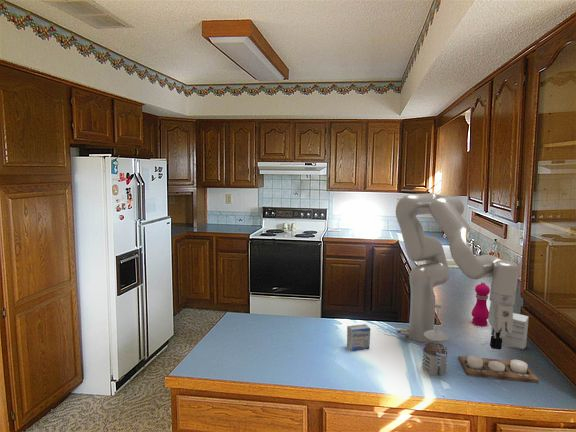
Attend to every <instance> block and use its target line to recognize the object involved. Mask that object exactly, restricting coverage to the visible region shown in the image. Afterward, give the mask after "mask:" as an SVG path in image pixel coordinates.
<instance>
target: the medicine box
mask: <svg viewBox="0 0 576 432" xmlns="http://www.w3.org/2000/svg"><path fill="white" fill-rule="evenodd" d="M346 330H347V331H346V347H347V348H348V349H349V350H350V351H351V352H358V351H365V350H370V346H371V328H370V327H369V326H368V325H367V324H364V323H363V324H355V325H354V324H353V325H347V327H346ZM364 349H365V350H364ZM357 350H358V351H357Z"/></svg>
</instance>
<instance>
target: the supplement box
mask: <svg viewBox="0 0 576 432" xmlns="http://www.w3.org/2000/svg"><path fill="white" fill-rule="evenodd" d="M528 327H529V316H528V315H524V314H519V313H515V312H513V323H512V333H511V334H508V333H507V331H506V330H505V338H503V340H502V348H503V347H504V348H505V347H506V348H517V349H520V350H521V349H522V350H524V349H526V346H527V339H528V338H527V337H528Z"/></svg>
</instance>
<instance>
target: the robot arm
mask: <svg viewBox="0 0 576 432" xmlns="http://www.w3.org/2000/svg"><path fill="white" fill-rule="evenodd" d="M464 210H465V205H464V203H463V201H462V200H461V199H460V198H459V197H457V196H451V195H444V194H437V193H429V192H428V193H425V192H424V193H411V194H407V195H405V196H403V197H401V198H400V199H399V201H398V202H397V204H396V207H395V218H396V220H397V223H398V226H399V228H400V231H401V236H402V240H403V243H404V247H405V250H406V251H405V252H406V255H407V257H408V259H409V260H410V261H412V262H423V261H424V262H425V263H424V264H418V265H416V266H415V267H413V268H412V269H411V270H410V272H409V276H408V279H409V285H410V304H409V305H410V306H409V307H410V308H409V321H408V322H409V325H407V327H405V328H401V327H397V328H396V333H398V334H400V336H404V340H405V341H406V342H407V343H409V344H410V343H411V342H410V340H412V341H415V342H420V343H429V342H432V341H431V340H429V339H427V338H426V337H425V336H424V332H426V331H429V330H435V314H436V307H435V305H436V294H435V291H434V287H439V286H441V285H444V284H446V283H447V282H448V281H449V279H450V275H451V274H450V268H449V265H448V261H447V258H446V253H445V251H444V250H445V249H444V247H443V245H442V243H441V241H440V240H439V239H438V238H436V237H434V236H431V235H429V236H426V234H425V232H424V228H423V225H422V223H421V221H420V220H419V218H417V216H418V215H419V216H420V215H431V216H432V218H433V219H434V220H435V222H436V223H437V225H438V226H439V228H440V229H441V230H442V232H443V233H444V235H445V236H446V237H447V239H448V245H449V251H450V255H451V258H452V259H453V261H454V263H455V264H456V265H457V267H458V268H459V270H460V271H461V272H462V273H463V274H464V276H466V277H467V278H469V279H471V280H481V279H484V278H491V281H490V282H491V283H490V284H491V285H490V293H489V296H488V300H489V301H490V304H489V309H488V311H489V315H488V319H487V321H488V323H489V324H488V325H490V327H491V330H490V335H491V336H490V343H489V346H490V349H492V350H499V351H500V350H502V348H503V338H505V330H506V331H507V333H508V334H511V333H512V323H513V313H514V305H515V302H516V294H517V286H518V279H519V274H520V265H519V264H518V263H516V262H514V261H511V260H506V259H502V258H499V257H497V256H495V255H492V254H482V255H477V256H476V255H475V254H474V253H473V251H472V250H471V249H470V247H469V245H468V243H467V242H468V241H467V235H468V234H469V233H470V231H471V226H470V225H469V224H468V222H467V221H466V219H464V217H463V216H462V215H463V214H464Z"/></svg>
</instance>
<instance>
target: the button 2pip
mask: <svg viewBox="0 0 576 432" xmlns="http://www.w3.org/2000/svg"><path fill="white" fill-rule="evenodd" d="M510 361H511V363H510V367H509V368H510V370H511V371H512V372H513V373H522V374H527V366H528V363H527V362H525V361H523V360H521V359H520V360H519V359H511V360H510ZM528 367H529V366H528Z"/></svg>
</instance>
